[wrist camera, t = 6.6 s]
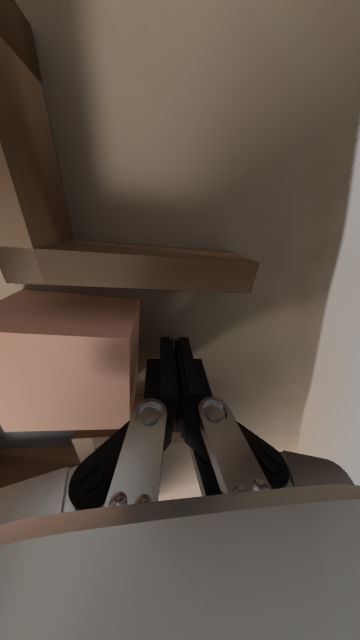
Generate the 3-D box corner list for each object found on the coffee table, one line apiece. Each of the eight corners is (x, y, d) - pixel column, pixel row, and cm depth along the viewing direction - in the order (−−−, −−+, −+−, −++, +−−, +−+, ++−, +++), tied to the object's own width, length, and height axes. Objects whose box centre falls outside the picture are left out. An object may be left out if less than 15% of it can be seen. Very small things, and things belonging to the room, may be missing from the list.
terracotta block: (137, 373, 13) (129, 428, 9) (49, 371, 12) (4, 431, 9) (139, 298, 10) (129, 338, 7) (23, 288, 9) (-59, 329, 6)
